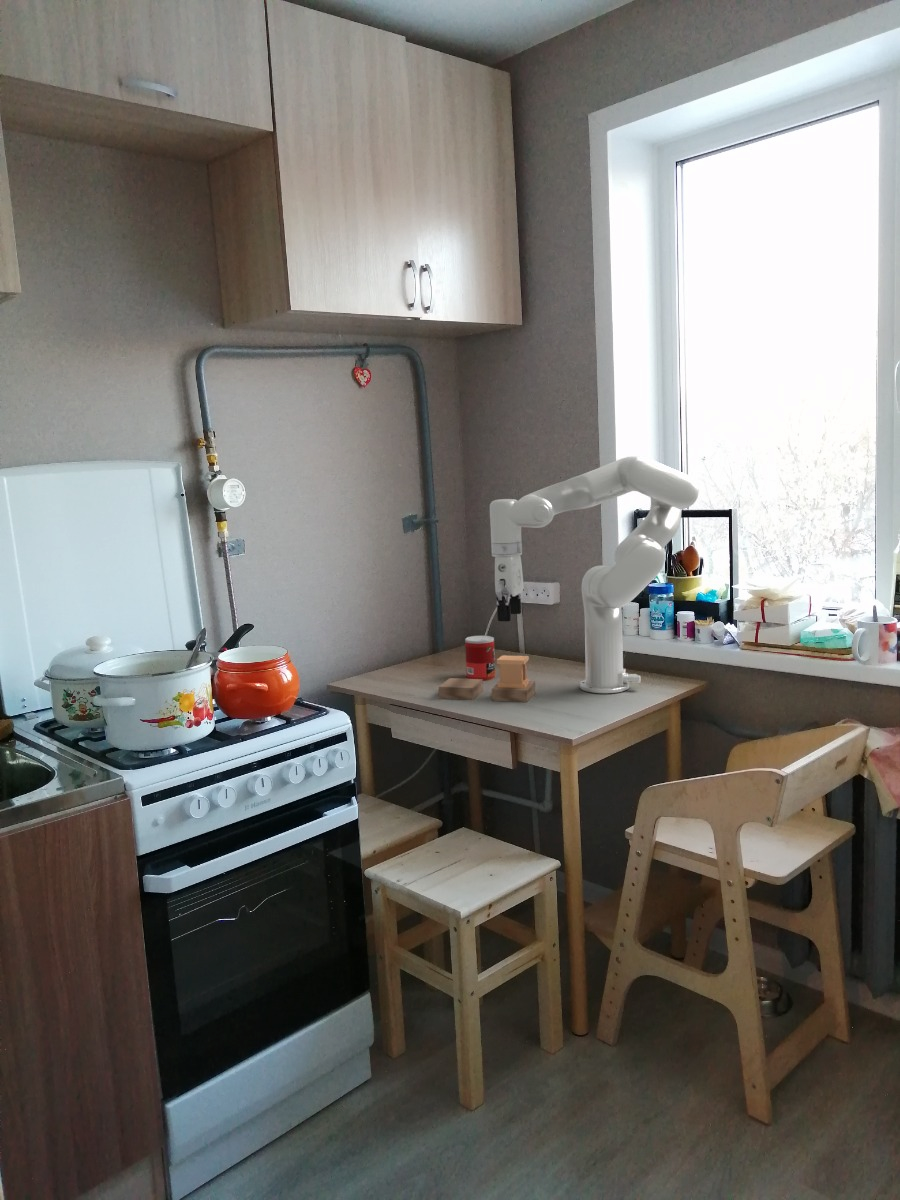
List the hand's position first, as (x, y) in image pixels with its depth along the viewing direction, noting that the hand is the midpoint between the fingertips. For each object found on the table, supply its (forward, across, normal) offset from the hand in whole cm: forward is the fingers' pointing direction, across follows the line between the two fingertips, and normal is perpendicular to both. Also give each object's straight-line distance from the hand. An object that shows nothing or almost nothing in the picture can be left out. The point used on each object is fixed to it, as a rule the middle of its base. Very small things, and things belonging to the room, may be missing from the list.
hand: (509, 617), depth 237 cm
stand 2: (+20, 0, 0) cm, 20 cm away
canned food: (+20, +17, +14) cm, 30 cm away
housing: (+17, 0, 0) cm, 17 cm away
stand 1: (+20, -1, +14) cm, 24 cm away
